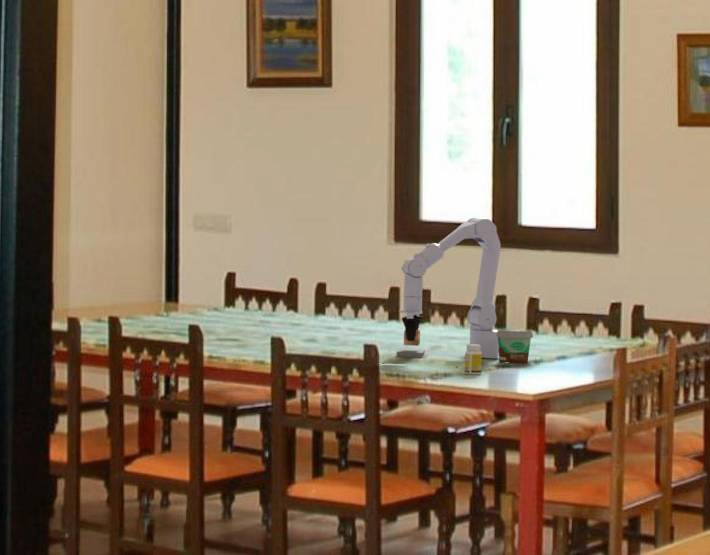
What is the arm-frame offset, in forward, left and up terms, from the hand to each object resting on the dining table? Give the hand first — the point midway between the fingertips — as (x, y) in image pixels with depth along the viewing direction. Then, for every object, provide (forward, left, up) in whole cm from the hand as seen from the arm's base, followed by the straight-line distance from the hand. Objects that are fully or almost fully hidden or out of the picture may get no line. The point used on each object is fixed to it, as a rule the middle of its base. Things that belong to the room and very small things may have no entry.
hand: (411, 339), depth 434 cm
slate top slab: (0, 0, -5) cm, 5 cm away
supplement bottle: (-21, +30, -6) cm, 37 cm away
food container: (-33, -1, -6) cm, 34 cm away
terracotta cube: (0, 0, -2) cm, 2 cm away
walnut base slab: (0, 0, -6) cm, 6 cm away
